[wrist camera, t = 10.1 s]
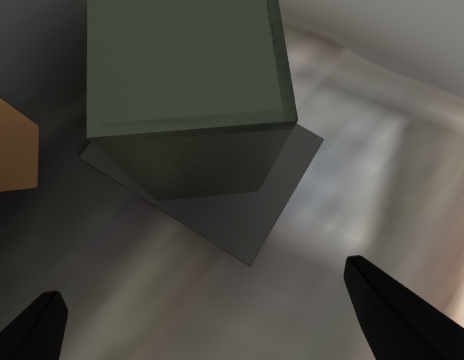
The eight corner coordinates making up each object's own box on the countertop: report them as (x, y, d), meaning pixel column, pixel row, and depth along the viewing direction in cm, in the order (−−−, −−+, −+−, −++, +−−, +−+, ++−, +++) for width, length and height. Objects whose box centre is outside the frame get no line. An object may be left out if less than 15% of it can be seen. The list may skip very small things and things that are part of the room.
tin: (258, 191, 19) (298, 120, 9) (156, 201, 19) (86, 137, 9) (247, 100, 20) (270, -46, 11) (152, 107, 20) (87, -36, 10)
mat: (321, 142, 20) (324, 139, 20) (249, 265, 18) (250, 266, 18) (166, 52, 22) (164, 47, 21) (82, 159, 20) (79, 157, 19)
